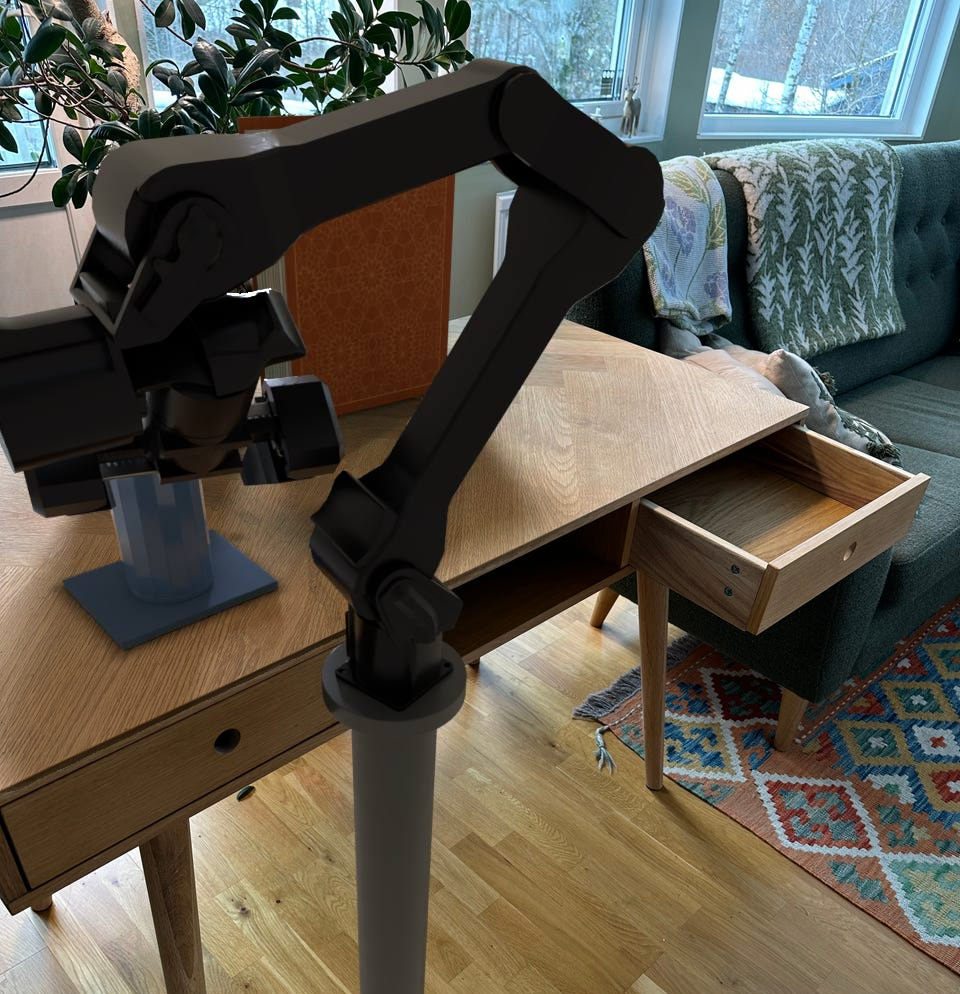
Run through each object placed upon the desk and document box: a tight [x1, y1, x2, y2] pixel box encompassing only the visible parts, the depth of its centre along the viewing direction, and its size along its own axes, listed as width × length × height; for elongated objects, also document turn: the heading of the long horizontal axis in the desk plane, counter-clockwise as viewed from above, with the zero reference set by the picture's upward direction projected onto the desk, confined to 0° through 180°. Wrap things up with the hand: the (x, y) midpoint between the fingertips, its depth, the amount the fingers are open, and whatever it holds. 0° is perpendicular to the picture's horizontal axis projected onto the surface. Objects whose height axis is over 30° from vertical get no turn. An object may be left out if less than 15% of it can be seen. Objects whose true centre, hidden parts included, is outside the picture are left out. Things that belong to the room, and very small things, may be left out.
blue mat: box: [61, 528, 279, 651], centre depth 75 cm, size 14×11×1 cm
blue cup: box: [106, 458, 214, 604], centre depth 71 cm, size 7×7×12 cm
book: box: [236, 114, 456, 417], centre depth 102 cm, size 23×8×30 cm, turn 129°
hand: (179, 488), depth 62 cm, fingers open, 9 cm apart
